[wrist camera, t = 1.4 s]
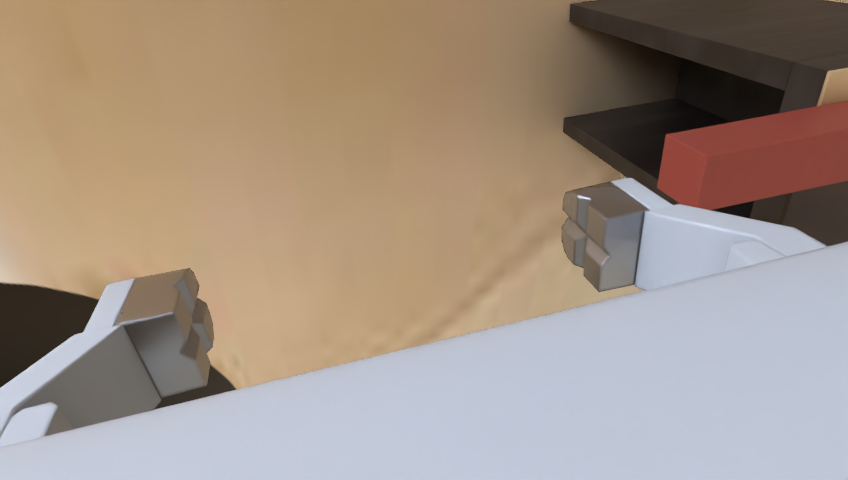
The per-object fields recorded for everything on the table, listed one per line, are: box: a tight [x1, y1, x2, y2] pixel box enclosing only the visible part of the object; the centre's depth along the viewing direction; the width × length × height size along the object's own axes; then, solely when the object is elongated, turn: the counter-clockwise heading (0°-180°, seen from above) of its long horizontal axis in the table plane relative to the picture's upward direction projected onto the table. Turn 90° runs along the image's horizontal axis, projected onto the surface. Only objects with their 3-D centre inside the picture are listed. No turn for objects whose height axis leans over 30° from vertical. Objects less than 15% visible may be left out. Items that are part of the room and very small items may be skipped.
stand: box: [563, 0, 848, 246], centre depth 40 cm, size 12×14×26 cm
